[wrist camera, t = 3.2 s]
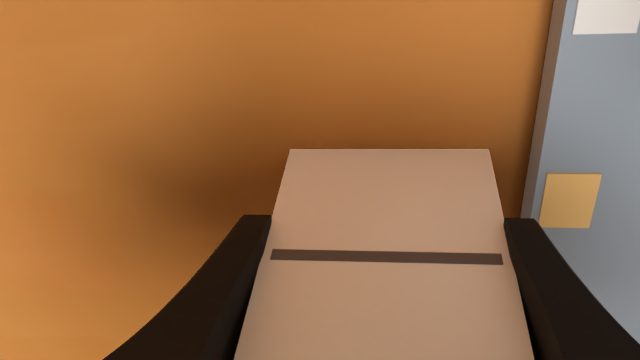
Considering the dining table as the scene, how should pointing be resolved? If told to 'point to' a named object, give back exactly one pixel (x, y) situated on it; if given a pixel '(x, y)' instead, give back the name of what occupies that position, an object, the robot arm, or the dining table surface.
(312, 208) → the placed domino
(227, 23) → the dining table surface
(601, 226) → the domino board
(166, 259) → the dining table surface
